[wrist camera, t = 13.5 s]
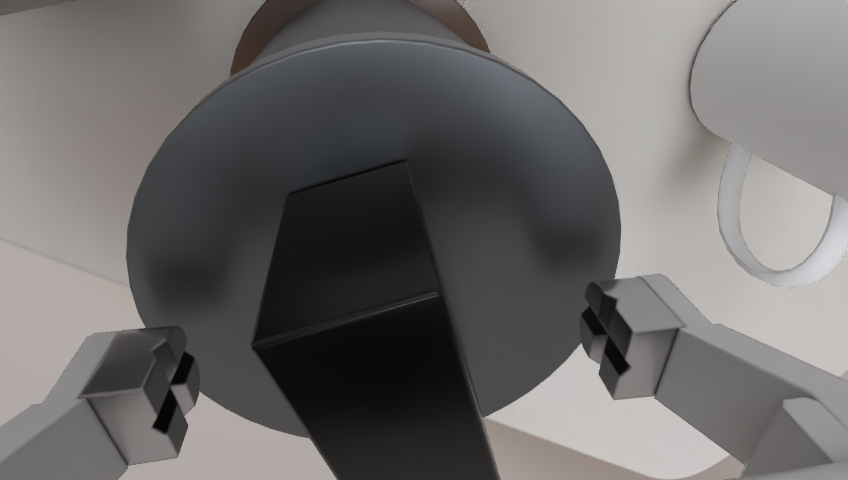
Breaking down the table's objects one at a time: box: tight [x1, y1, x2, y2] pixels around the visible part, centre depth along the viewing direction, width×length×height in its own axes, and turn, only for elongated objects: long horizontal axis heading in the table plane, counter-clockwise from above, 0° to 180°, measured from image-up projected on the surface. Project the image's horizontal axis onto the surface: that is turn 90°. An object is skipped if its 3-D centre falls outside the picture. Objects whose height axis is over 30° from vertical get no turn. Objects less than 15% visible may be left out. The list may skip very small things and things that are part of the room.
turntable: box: [230, 0, 491, 77], centre depth 22 cm, size 12×12×2 cm
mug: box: [690, 0, 848, 288], centre depth 21 cm, size 12×8×10 cm, turn 153°
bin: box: [126, 0, 621, 480], centre depth 14 cm, size 11×11×17 cm
